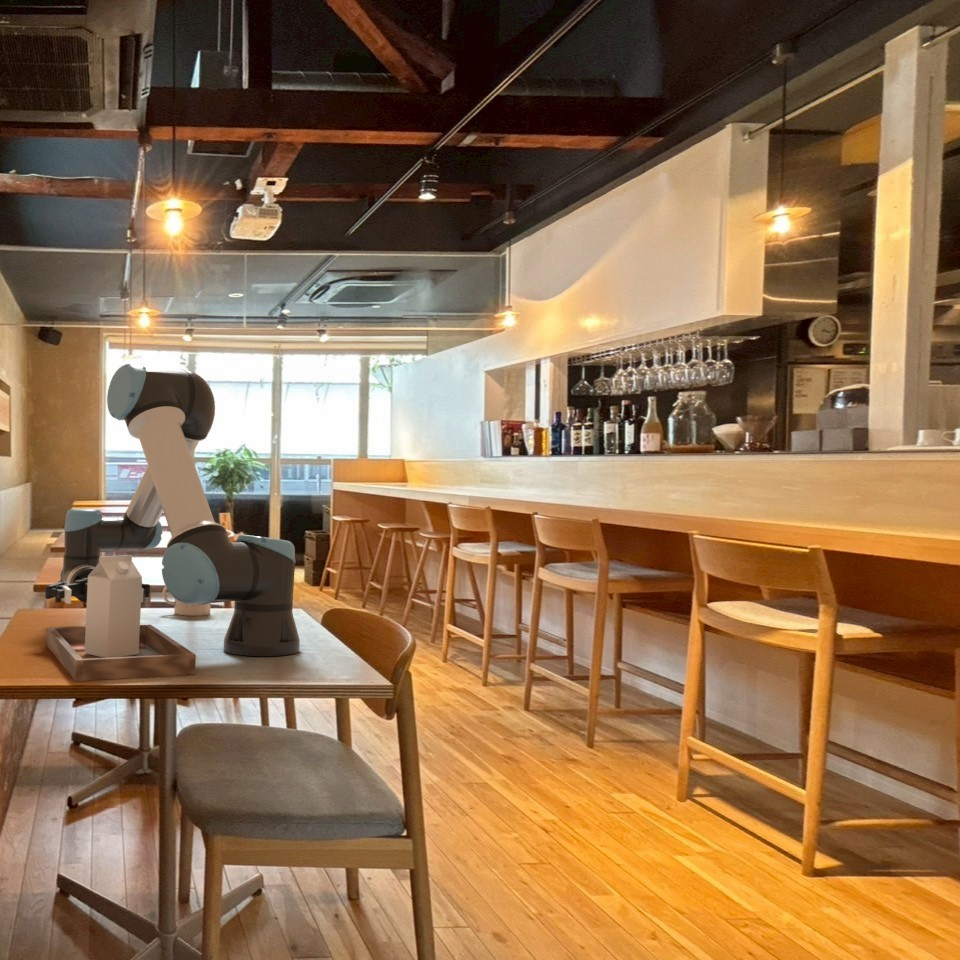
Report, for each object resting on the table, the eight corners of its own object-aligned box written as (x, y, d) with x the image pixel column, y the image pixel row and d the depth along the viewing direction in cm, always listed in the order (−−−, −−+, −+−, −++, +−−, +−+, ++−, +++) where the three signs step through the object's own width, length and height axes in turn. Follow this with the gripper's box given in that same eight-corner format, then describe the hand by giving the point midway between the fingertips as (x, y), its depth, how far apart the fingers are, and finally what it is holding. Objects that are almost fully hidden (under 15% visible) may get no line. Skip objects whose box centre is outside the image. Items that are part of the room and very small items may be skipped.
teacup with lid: (205, 610, 262) (207, 564, 262) (215, 615, 254) (217, 568, 254) (157, 611, 256) (159, 565, 256) (165, 617, 248) (168, 568, 248)
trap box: (149, 641, 213) (150, 624, 213) (195, 674, 182) (195, 654, 182) (46, 645, 203) (47, 627, 203) (75, 681, 172) (76, 660, 172)
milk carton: (84, 654, 196) (88, 555, 196) (116, 650, 202) (120, 553, 202) (106, 659, 192) (111, 558, 192) (138, 655, 198) (143, 556, 198)
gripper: (146, 600, 227) (169, 613, 209) (24, 602, 215) (36, 616, 197) (148, 566, 227) (170, 576, 209) (25, 566, 215) (38, 577, 196)
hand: (105, 596), depth 203 cm, fingers open, 13 cm apart
